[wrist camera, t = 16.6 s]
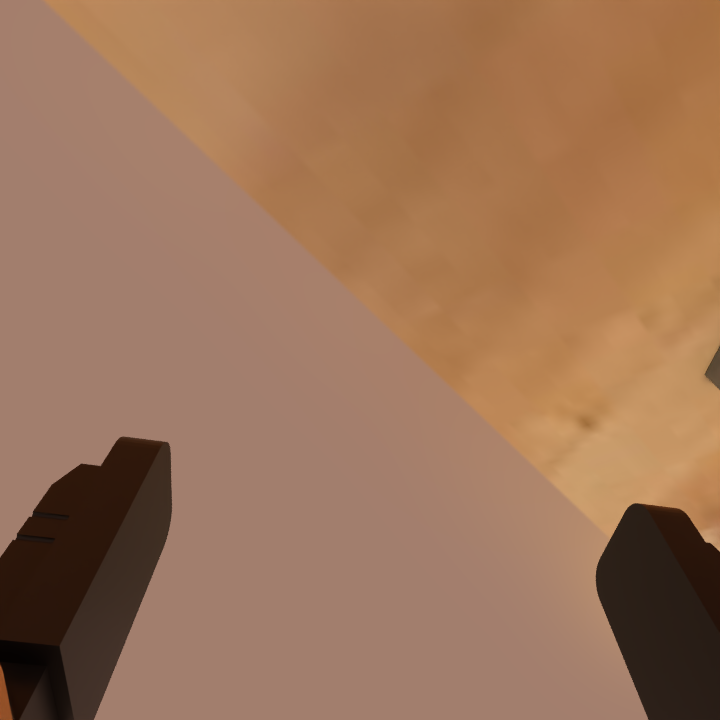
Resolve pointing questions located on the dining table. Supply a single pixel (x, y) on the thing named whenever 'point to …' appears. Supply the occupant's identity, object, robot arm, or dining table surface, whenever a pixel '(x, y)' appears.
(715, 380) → the tray
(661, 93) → the dining table surface
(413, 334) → the dining table surface
